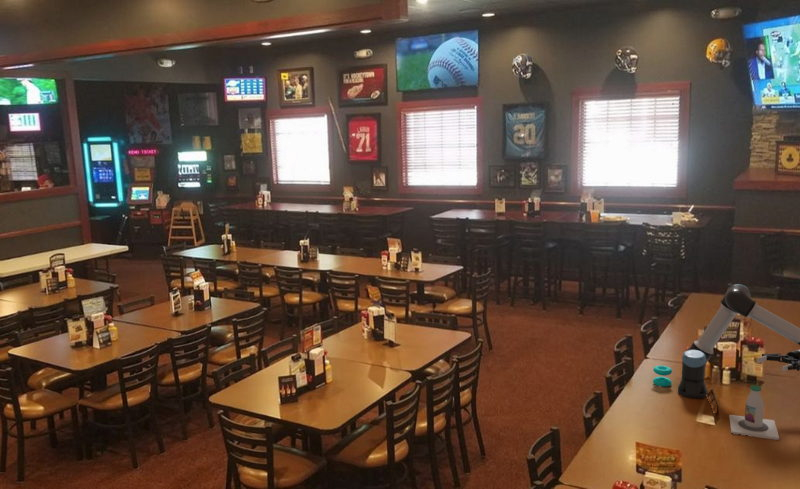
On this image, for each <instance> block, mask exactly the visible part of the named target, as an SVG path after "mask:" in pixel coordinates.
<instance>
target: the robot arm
mask: <svg viewBox="0 0 800 489" xmlns="http://www.w3.org/2000/svg"><path fill="white" fill-rule="evenodd" d="M751 294H752V293H751V291H750V290H749V288H748V287H747V286H746V285H743V284H742V283H741V284H739V283H737V284H733V285H731V286H729V287H728V288H727V290H726V293H725V294H724V296H723V297H722V298H721V300H720V302H719V303H720V307H719V308H718V310H717V312H716V313H715V314H714V316H713V317H712V319H711V321H710V322H709V323H708V325H707V326H706V328H705V330H704V331H703V332H702V334H701V336H700V337H699V338H698V340H697V339H696V340H694V341H693V342H692V344H691V345H690V346H689V347H688V349H687V350H686V351H684V352H683V354H682V357H681V360H682V361H681V362H682V364H681V365H682V366H681V379H680V382H679V384H678V386H677V394H679V395H680V396H681V397H685V398H688V399H689V398H690V399H699V400H700V399H705V398H706V395H707V393H708V391H709V390H708V388H707V385H706V382H705V379H706V367H707V364H708V362H709V360H710V359H711V357H712V356H713V355H714V348H715V346H716V344H717V343H718V342H719V340H720V339H721V338H722V336H723V334H724V333H725V332H726V331H727V328H729V326H730V325H731V323H732V321H733V320H734V318H735V317H736V316H737V315H741V316H743V317H744V318H750V319H752V320H753V321H755V322H758V323H760V324H761V325H763V326H764V327H766V328H768V329H770V330H772V331H774V333H777V334H779V335H780V336H782V337H784V338H786V339H788V340H789V341H790V342H791V341H792V342H793V343H795V344H797V345H798V346H800V327H799V326H796V325H795V324H794V323H791V322H790V321H787V320H786V319H784V318H782V317H780V316H778V315H776V314H775V313H773V312H771V311H769V310H767V309H766V308H764V307H762V306H760V305H758V302H757V301H756V300H753V299H752V298H751V297H752V295H751ZM767 361H770V362H771V361H773V362H779V363H784V364H786V365H782V366H781V372H782V373H783V372H787V371H792V370H793V371H794V370H796V371H800V348H799V349H795V350H791V351H789V352H787V353H786V354H781V353H780V352H777V353H761V356H759V357H757V358H756V363H757V364H761V363H764V362H765V363H766V362H767ZM707 396H708V395H707Z"/></svg>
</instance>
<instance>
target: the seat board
mask: <svg viewBox="0 0 800 489" xmlns="http://www.w3.org/2000/svg"><path fill="white" fill-rule="evenodd" d="M728 415H729V416H728V419H729V425H730V433H733V434H732V435H738V434H741V435H740V436H745V435H748V436H747V437H753V436H754V437H753V438H761V439H768V440H776V441H779V440H780V437H779V436H780V435H779V433H778V429H777V425H776V422H775V419H767V418H763V425H762V427H761V428H751V427H748V426H746V425H745V415H744V416H743V415H734V414H728Z"/></svg>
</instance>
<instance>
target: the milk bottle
mask: <svg viewBox="0 0 800 489" xmlns="http://www.w3.org/2000/svg"><path fill="white" fill-rule="evenodd" d="M749 391H750V393H749V395H748V396H747V398H746V401H745V411H744V417H745V425H746V426H748V427H751V428H761V427H762V425H763V419H764V406H765V405H764V400H763V396H762V395H761V392H762V386H760V385H756V384H753V385H752V384H751V385H750V389H749Z"/></svg>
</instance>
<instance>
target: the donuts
mask: <svg viewBox="0 0 800 489" xmlns="http://www.w3.org/2000/svg"><path fill="white" fill-rule="evenodd" d="M652 371H653V372H654V373H655V374H656V375H659V376H656V377H654V378H653V379H652V383H653V384H654V386H658V387H660V386H661V387H662V388H666V387H667V388H668V387H671V385H672V380H671V379H670V378H668V377H666V376H669V375H671V374H673V370H672V368H671V367H669V366H667V365H661V364H660V365H655V366H654V367H653V370H652Z"/></svg>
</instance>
